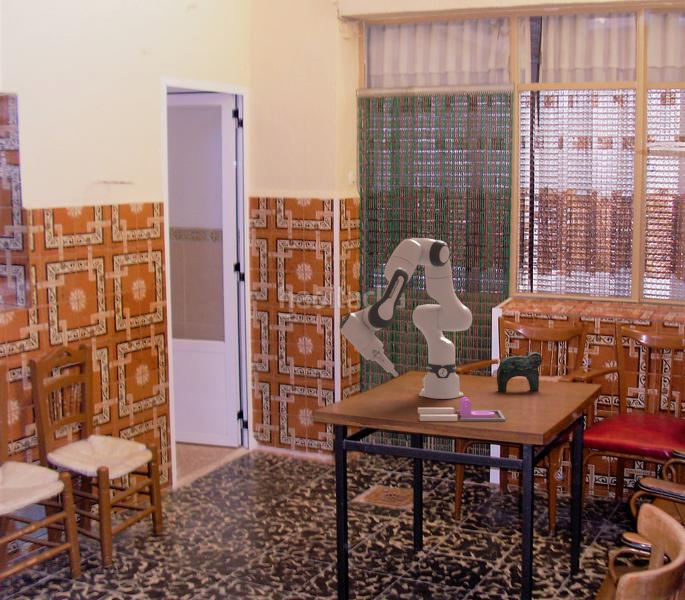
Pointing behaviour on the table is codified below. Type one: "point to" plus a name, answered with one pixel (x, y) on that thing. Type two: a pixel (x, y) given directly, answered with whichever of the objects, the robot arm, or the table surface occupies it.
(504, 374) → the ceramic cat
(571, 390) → the table surface
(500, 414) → the cream grey rectangular frame
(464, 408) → the bracket
